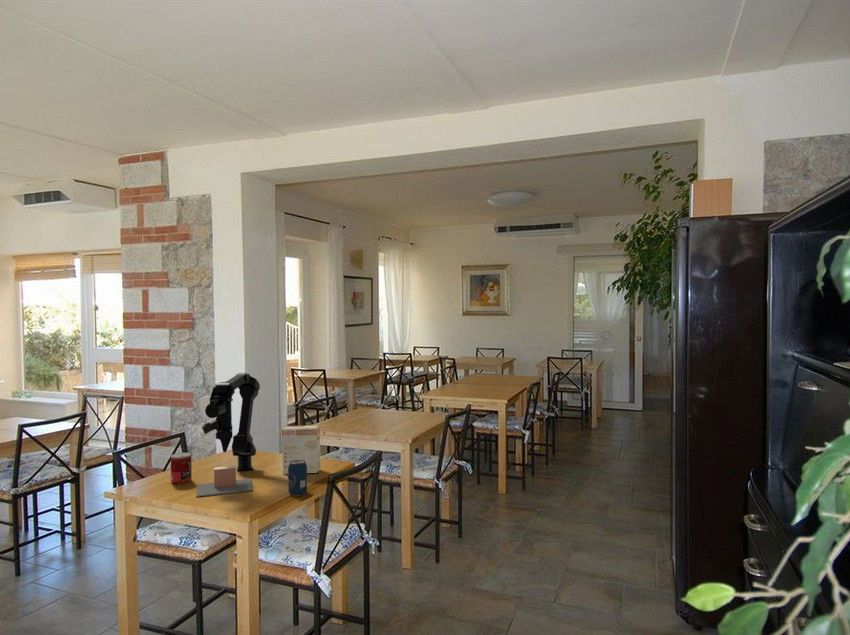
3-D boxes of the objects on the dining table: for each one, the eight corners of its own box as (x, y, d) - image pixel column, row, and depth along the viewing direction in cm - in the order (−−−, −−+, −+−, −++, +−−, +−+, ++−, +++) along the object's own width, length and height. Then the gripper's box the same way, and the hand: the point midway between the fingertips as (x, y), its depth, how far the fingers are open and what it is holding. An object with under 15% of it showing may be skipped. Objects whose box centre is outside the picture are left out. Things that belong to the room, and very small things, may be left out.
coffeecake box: (321, 469, 244) (320, 425, 244) (317, 474, 237) (316, 428, 237) (286, 470, 245) (286, 425, 245) (282, 474, 237) (281, 428, 237)
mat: (198, 485, 224) (198, 484, 224) (251, 480, 230) (251, 478, 230) (196, 497, 208) (196, 495, 208) (252, 491, 215) (252, 489, 215)
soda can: (285, 494, 211) (284, 462, 211) (301, 489, 216) (300, 458, 216) (294, 497, 206) (294, 465, 206) (311, 493, 211) (310, 461, 211)
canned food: (184, 484, 225) (183, 457, 225) (166, 483, 227) (166, 456, 227) (195, 479, 233) (195, 452, 233) (178, 478, 234) (178, 452, 234)
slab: (214, 485, 221) (214, 467, 221) (235, 483, 224) (235, 465, 224) (214, 487, 219) (214, 469, 219) (235, 485, 221) (235, 467, 221)
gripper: (203, 411, 235) (204, 449, 235) (201, 419, 217) (202, 459, 217) (232, 409, 239) (232, 446, 239) (232, 416, 221) (232, 456, 221)
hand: (224, 452), depth 229 cm, fingers closed
